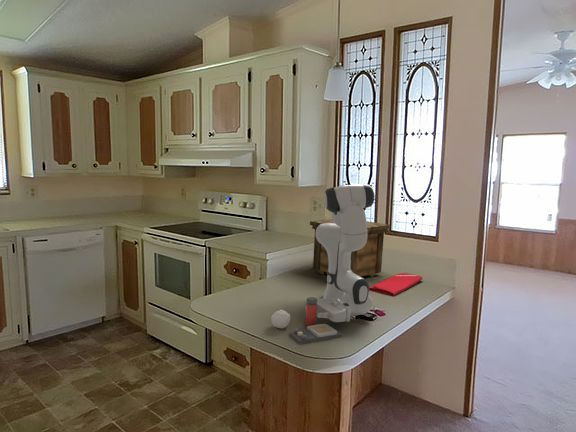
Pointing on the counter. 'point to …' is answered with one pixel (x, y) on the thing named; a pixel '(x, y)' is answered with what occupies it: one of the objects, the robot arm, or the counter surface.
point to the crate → (361, 260)
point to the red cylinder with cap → (311, 311)
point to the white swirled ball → (280, 319)
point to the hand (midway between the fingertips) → (311, 311)
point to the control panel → (314, 333)
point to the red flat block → (396, 284)
